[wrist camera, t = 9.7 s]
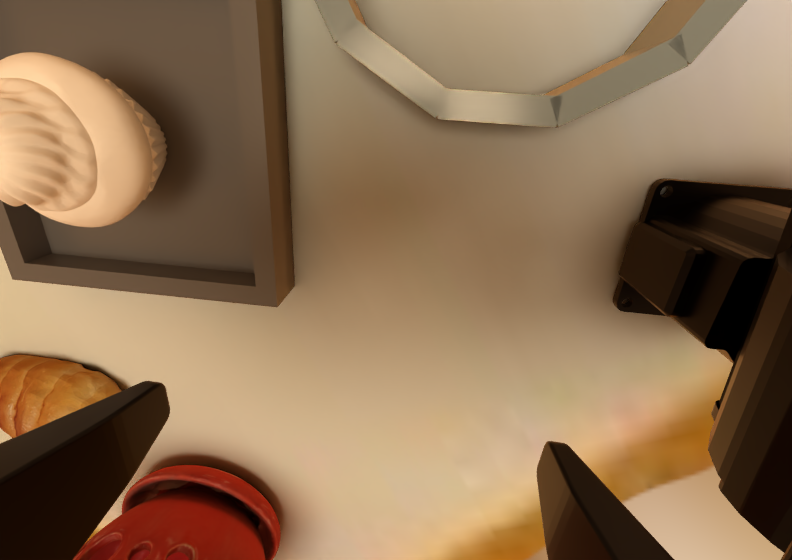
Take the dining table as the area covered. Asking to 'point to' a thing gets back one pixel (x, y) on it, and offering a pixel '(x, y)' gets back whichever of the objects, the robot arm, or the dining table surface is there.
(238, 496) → the plant pot
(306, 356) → the dining table surface
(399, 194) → the dining table surface
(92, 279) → the tray
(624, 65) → the grey polygonal ring
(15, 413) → the pastry
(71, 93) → the muffin
